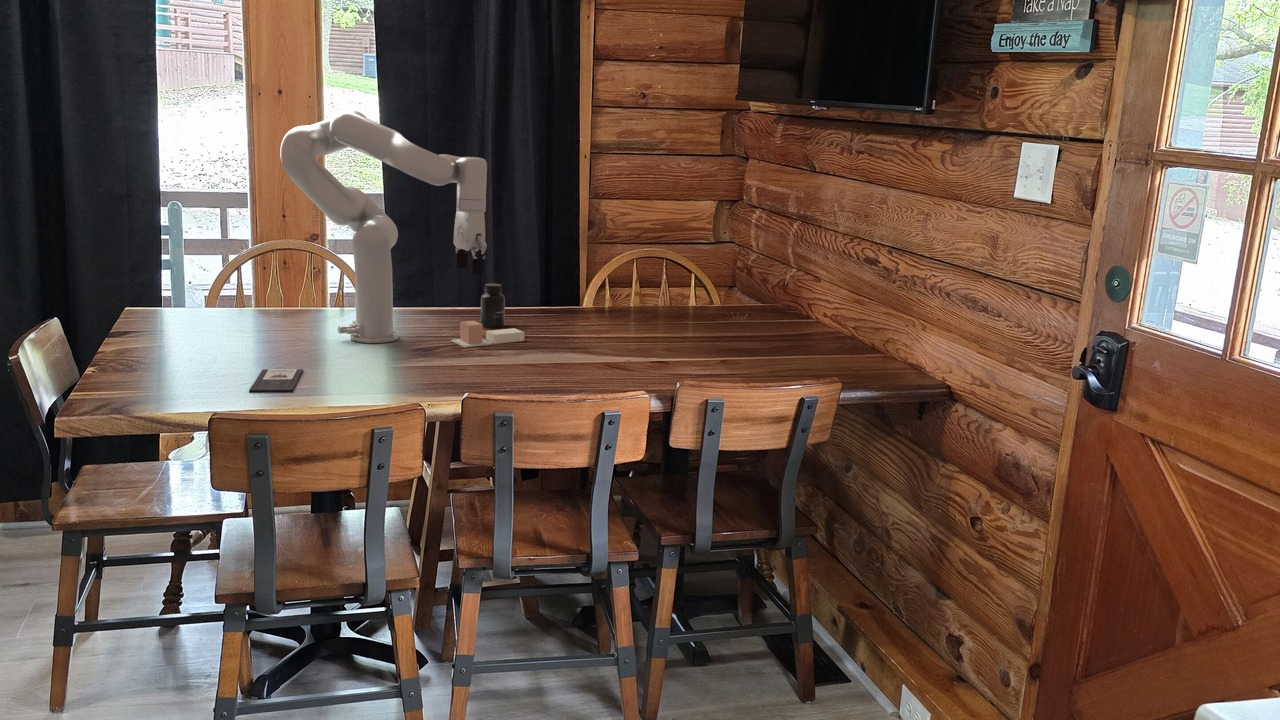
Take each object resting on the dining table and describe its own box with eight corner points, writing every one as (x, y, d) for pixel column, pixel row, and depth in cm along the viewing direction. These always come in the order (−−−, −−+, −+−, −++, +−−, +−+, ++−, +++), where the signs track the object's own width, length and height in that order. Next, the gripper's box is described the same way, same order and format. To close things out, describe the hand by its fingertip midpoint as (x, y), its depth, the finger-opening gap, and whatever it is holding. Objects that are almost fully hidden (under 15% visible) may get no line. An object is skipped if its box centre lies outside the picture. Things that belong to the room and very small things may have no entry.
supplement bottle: (502, 328, 299) (503, 287, 296) (478, 327, 299) (478, 286, 296) (506, 323, 306) (506, 283, 303) (482, 322, 306) (483, 282, 303)
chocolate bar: (249, 390, 226) (262, 369, 244) (249, 394, 227) (262, 373, 244) (292, 389, 228) (303, 369, 245) (292, 394, 228) (303, 373, 245)
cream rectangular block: (494, 343, 281) (494, 334, 280) (485, 340, 284) (486, 330, 284) (524, 340, 286) (524, 331, 285) (515, 337, 290) (515, 327, 289)
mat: (464, 347, 275) (464, 346, 275) (451, 341, 281) (451, 339, 281) (491, 344, 280) (492, 343, 280) (478, 338, 286) (478, 337, 286)
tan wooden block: (468, 344, 277) (468, 325, 276) (460, 340, 281) (460, 321, 280) (482, 342, 280) (482, 323, 278) (473, 338, 283) (474, 320, 282)
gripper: (444, 201, 278) (442, 266, 282) (472, 209, 264) (470, 277, 268) (470, 201, 282) (468, 265, 286) (499, 209, 268) (496, 276, 272)
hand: (469, 270), depth 277 cm, fingers open, 9 cm apart
